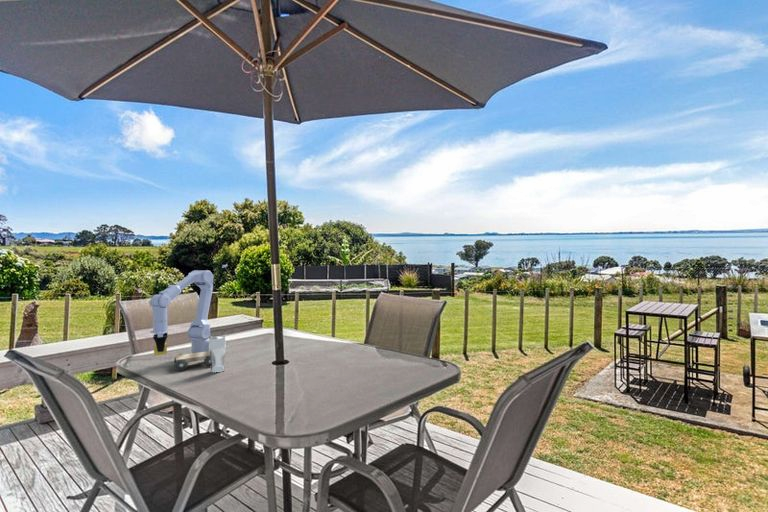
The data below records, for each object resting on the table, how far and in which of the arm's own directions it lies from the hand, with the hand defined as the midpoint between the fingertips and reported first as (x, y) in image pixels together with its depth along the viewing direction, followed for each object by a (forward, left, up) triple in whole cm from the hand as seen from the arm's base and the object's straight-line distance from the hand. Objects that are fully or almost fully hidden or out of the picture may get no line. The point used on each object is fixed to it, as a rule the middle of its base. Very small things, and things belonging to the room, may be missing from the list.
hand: (160, 350), depth 178 cm
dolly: (-14, +3, -8) cm, 17 cm away
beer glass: (-22, +18, -9) cm, 30 cm away
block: (0, 0, -2) cm, 2 cm away
